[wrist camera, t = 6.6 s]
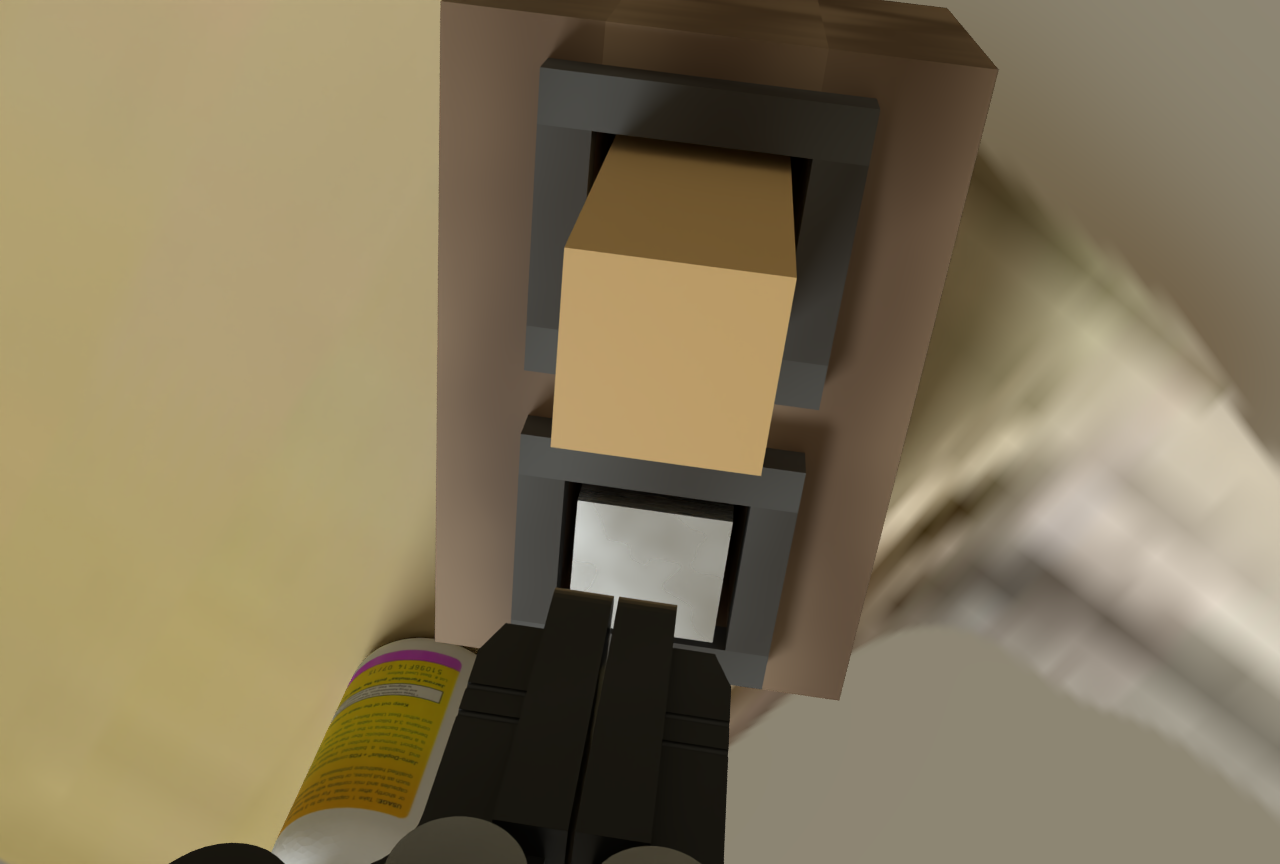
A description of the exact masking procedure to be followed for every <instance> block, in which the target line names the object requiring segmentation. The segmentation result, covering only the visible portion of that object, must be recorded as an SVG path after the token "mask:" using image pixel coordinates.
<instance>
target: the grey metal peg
mask: <svg viewBox="0 0 1280 864" xmlns="http://www.w3.org/2000/svg"><path fill="white" fill-rule="evenodd" d="M733 511H734V504H729V503H722V502H715V501H707V500H700V499H693V498H686V497H679V496H672V495H664V494H657V493H650V492H643V491H636V490H629V489H621V488H614V487H607V486H600V485H593V484H585V483H582V487H581V490H580V494H579V498H578V503H577V515H576V527H575V538H574V550H573V562H572V574H571V585H570V589H571V590H577V591H584V592H591V593H598V594H604V595H611V596H614V606H613V614H612V623H611V628H613V626H614V620H615V615H616V610H617V604H618V600H619V596H620V597H626V598H633V599H640V600H647V601H653V602H660V603H667V604H673V605H677V615H676V624H675V633H674V637H677V638H684V639H691V640H697V641H704V642H711V643H712V642H713V636H714V630H715V624H716V618H717V612H718V607H719V601H720V595H721V589H722V583H723V577H724V571H725V566H726V560H727V554H728V548H729V542H730V536H731V530H732V524H733Z"/></svg>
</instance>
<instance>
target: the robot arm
mask: <svg viewBox="0 0 1280 864" xmlns="http://www.w3.org/2000/svg"><path fill="white" fill-rule="evenodd" d="M613 606H614V596H611V595H604V594H598V593H591V592H584V591H577V590H571V589H564V588H557V587H556V588H555V590H554V593H553V597H552V600H551V604H550V608H549V611H548V615H547V619H546V623H545V626H544V629H543V628H536V627H530V626H523V625H516V624H510V623H505V624H504V625H503V626H502V627H501V628H500V629H499V630H498V631H497V632H496V633H495V634H494V635H493V636H492V637H491V638H490V639H489V640H488V641H487V642H486V643H485V644H484V645H483V646H482V647H480V648H479V650H478V653H477V656H476V659H475V662H474V665H473V668H472V671H471V674H470V677H469V680H468V684H467V688H465V691H464V694H463V697H462V700H461V703H460V706H459V710H458V715H457V716H456V718H455V721H454V724H453V727H452V730H451V733H450V736H449V738H448V741H447V744H446V747H445V750H444V753H443V756H442V759H441V762H440V765H439V768H438V771H437V774H436V777H435V780H434V783H433V786H432V789H431V791H430V794H429V797H428V800H427V803H426V806H425V809H424V812H423V815H422V817H421V819H420V821H419V824H418V825H417V827H416V828H415V829H414V830H412V831H410V832H409V833H408V834H407V835H405V836H404V837H403V838H402V839H401V840H400V841H399V842H398V843H397V844H396V846H395V847H394V848H393V849H392V851H391V853H390V854H388V855H387V856H385V857H383V858H382V859H380V860H378V861H375V862H373V863H371V864H724V841H725V817H726V794H727V770H728V747H729V722H730V699H731V686H730V684H729V682H728V680H727V677H726V675H725V673H724V671H723V669H722V667H721V665H720V663H719V661H718V659H717V657H716V655H715V654H712V653H705V652H699V651H692V650H685V649H679V648H673V641H674V633H675V624H676V615H677V605H673V604H667V603H660V602H653V601H647V600H640V599H633V598H626V597H620V596H619V600H618V604H617V610H616V615H615V620H614V626H613V631H612V636H611V642H610V647H609V639H610V631H611V623H612V614H613ZM608 647H609V652H608ZM607 656H608V658H607ZM169 864H285V863H284V862H283V861H282V860H281V859H279V858H278V857H277V856H276V855H274V854H273V853H271V852H269V851H268V850H266V849H263V848H260V847H258V846H254V845H249V844H244V843H224V844H216V845H212V846H207V847H203V848H201V849H198V850H195V851H192V852H190V853H188V854H186V855H184V856H182V857H180V858H178V859H176V860H175V861H173V862H171V863H169Z"/></svg>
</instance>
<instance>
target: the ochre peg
mask: <svg viewBox="0 0 1280 864" xmlns="http://www.w3.org/2000/svg"><path fill="white" fill-rule="evenodd" d="M796 280H797V271H796V253H795V234H794V215H793V196H792V177H791V158H790V156H785V155H777V154H769V153H761V152H754V151H746V150H738V149H730V148H722V147H714V146H706V145H698V144H690V143H683V142H675V141H667V140H659V139H651V138H643V137H635V136H627V135H619V134H616V136H615V138H614V141H613V143H612V145H611V147H610V149H609V151H608V154H607V156H606V158H605V160H604V162H603V164H602V167H601V169H600V171H599V173H598V175H597V178H596V180H595V182H594V184H593V186H592V188H591V191H590V193H589V195H588V197H587V199H586V201H585V204H584V206H583V208H582V210H581V212H580V214H579V217H578V219H577V221H576V223H575V225H574V228H573V230H572V232H571V234H570V236H569V238H568V241H567V243H566V245H565V247H564V259H563V274H562V288H561V303H560V318H559V332H558V347H557V361H556V376H555V391H554V405H553V420H552V434H551V447H554V448H561V449H569V450H576V451H583V452H590V453H597V454H605V455H612V456H619V457H626V458H634V459H641V460H648V461H655V462H663V463H670V464H677V465H684V466H692V467H699V468H706V469H713V470H720V471H728V472H735V473H742V474H749V475H757V476H761V473H762V468H763V462H764V457H765V451H766V446H767V440H768V435H769V429H770V423H771V418H772V412H773V407H774V401H775V396H776V390H777V385H778V379H779V374H780V368H781V363H782V357H783V352H784V346H785V341H786V335H787V330H788V324H789V319H790V313H791V308H792V302H793V296H794V291H795V285H796Z"/></svg>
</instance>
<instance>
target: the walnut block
mask: <svg viewBox="0 0 1280 864" xmlns="http://www.w3.org/2000/svg"><path fill="white" fill-rule="evenodd" d="M997 74H998V68H997V67H996V66H995V65H994V64H993V62H992V61H991V60H990V59H989V58H988V56H987V55H986V54H985V53H984V52H983V51H982V49H981V48H980V47H979V46H978V45H977V43H976V42H975V41H974V40H973V38H972V37H971V36H970V35H969V34H968V32H967V31H966V30H965V29H964V28H963V27H962V25H961V24H960V23H959V22H958V21H957V19H956V18H955V17H954V16H953V14H952V13H951V12H950V11H949V10H948V9H947V8H941V7H934V6H925V5H916V4H909V3H901V2H893V1H884V0H442V1H441V11H440V124H439V237H438V350H437V462H436V575H435V642H441V643H448V644H455V645H461V646H468V647H475V648H480V647H482V646H483V645H484V644H485V643H486V642H487V641H488V640H489V639H490V638H491V637H492V636H493V635H494V634H495V633H496V632H497V631H498V630H499V629H500V628H501V627H502V626H503V625H504V624H505V623H510V624H516V625H523V626H530V627H536V628H543V629H544V626H545V623H546V619H547V615H548V611H549V608H550V604H551V600H552V597H553V593H554V590H555V588H556V587H557V588H564V589H570V585H571V574H572V562H573V550H574V538H575V527H576V515H577V503H578V498H579V494H580V490H581V487H582V483H585V484H593V485H600V486H607V487H614V488H621V489H629V490H636V491H643V492H650V493H657V494H664V495H672V496H679V497H686V498H693V499H700V500H707V501H715V502H722V503H729V504H734V511H733V524H732V530H731V536H730V542H729V548H728V554H727V560H726V566H725V571H724V577H723V583H722V589H721V595H720V601H719V607H718V612H717V618H716V624H715V630H714V636H713V642H712V643H711V642H704V641H697V640H691V639H684V638H677V637H674V641H673V648H679V649H685V650H692V651H699V652H705V653H712V654H715V655H716V657H717V659H718V661H719V663H720V665H721V667H722V669H723V671H724V673H725V675H726V677H727V680H728V682H729V684H730V685H736V686H743V687H750V688H756V689H763V690H770V691H777V692H784V693H791V694H798V695H805V696H811V697H819V698H825V699H833V700H839V699H840V695H841V691H842V687H843V683H844V679H845V675H846V672H847V667H848V664H849V660H850V656H851V652H852V648H853V644H854V640H855V636H856V632H857V628H858V624H859V620H860V616H861V612H862V608H863V604H864V600H865V596H866V592H867V588H868V584H869V581H870V577H871V573H872V569H873V565H874V561H875V557H876V553H877V549H878V545H879V541H880V537H881V533H882V529H883V525H884V521H885V517H886V513H887V509H888V505H889V501H890V497H891V493H892V490H893V486H894V482H895V478H896V474H897V470H898V466H899V462H900V458H901V454H902V450H903V446H904V442H905V438H906V434H907V430H908V426H909V422H910V418H911V414H912V410H913V406H914V402H915V399H916V395H917V391H918V387H919V383H920V379H921V375H922V371H923V367H924V363H925V359H926V355H927V351H928V347H929V343H930V339H931V335H932V331H933V327H934V323H935V319H936V315H937V311H938V308H939V304H940V300H941V296H942V292H943V288H944V284H945V280H946V276H947V272H948V268H949V264H950V260H951V256H952V252H953V248H954V244H955V240H956V236H957V232H958V228H959V224H960V220H961V217H962V213H963V209H964V205H965V201H966V197H967V193H968V189H969V185H970V181H971V177H972V173H973V169H974V165H975V161H976V157H977V153H978V149H979V145H980V141H981V137H982V133H983V129H984V125H985V121H986V118H987V114H988V109H989V106H990V101H991V98H992V94H993V90H994V86H995V82H996V78H997ZM616 134H619V135H627V136H635V137H643V138H651V139H659V140H667V141H675V142H683V143H690V144H698V145H706V146H714V147H722V148H730V149H738V150H746V151H754V152H761V153H769V154H777V155H785V156H790V158H791V177H792V196H793V215H794V234H795V253H796V271H797V280H796V285H795V291H794V296H793V302H792V308H791V313H790V319H789V324H788V330H787V335H786V341H785V346H784V352H783V357H782V363H781V368H780V374H779V379H778V385H777V390H776V396H775V401H774V407H773V412H772V418H771V423H770V429H769V435H768V440H767V446H766V451H765V457H764V462H763V468H762V473H761V476H757V475H749V474H742V473H735V472H728V471H720V470H713V469H706V468H699V467H692V466H684V465H677V464H670V463H663V462H655V461H648V460H641V459H634V458H626V457H619V456H612V455H605V454H597V453H590V452H583V451H576V450H569V449H561V448H554V447H551V434H552V420H553V405H554V391H555V376H556V361H557V347H558V332H559V318H560V303H561V288H562V274H563V259H564V247H565V245H566V243H567V241H568V238H569V236H570V234H571V232H572V230H573V228H574V225H575V223H576V221H577V219H578V217H579V214H580V212H581V210H582V208H583V206H584V204H585V201H586V199H587V197H588V195H589V193H590V191H591V188H592V186H593V184H594V182H595V180H596V178H597V175H598V173H599V171H600V169H601V167H602V164H603V162H604V160H605V158H606V156H607V154H608V151H609V149H610V147H611V145H612V143H613V141H614V138H615V136H616ZM612 631H613V628H611V631H610V639H609V647H610V642H611V636H612ZM609 647H608V652H609ZM607 658H608V656H607Z"/></svg>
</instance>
